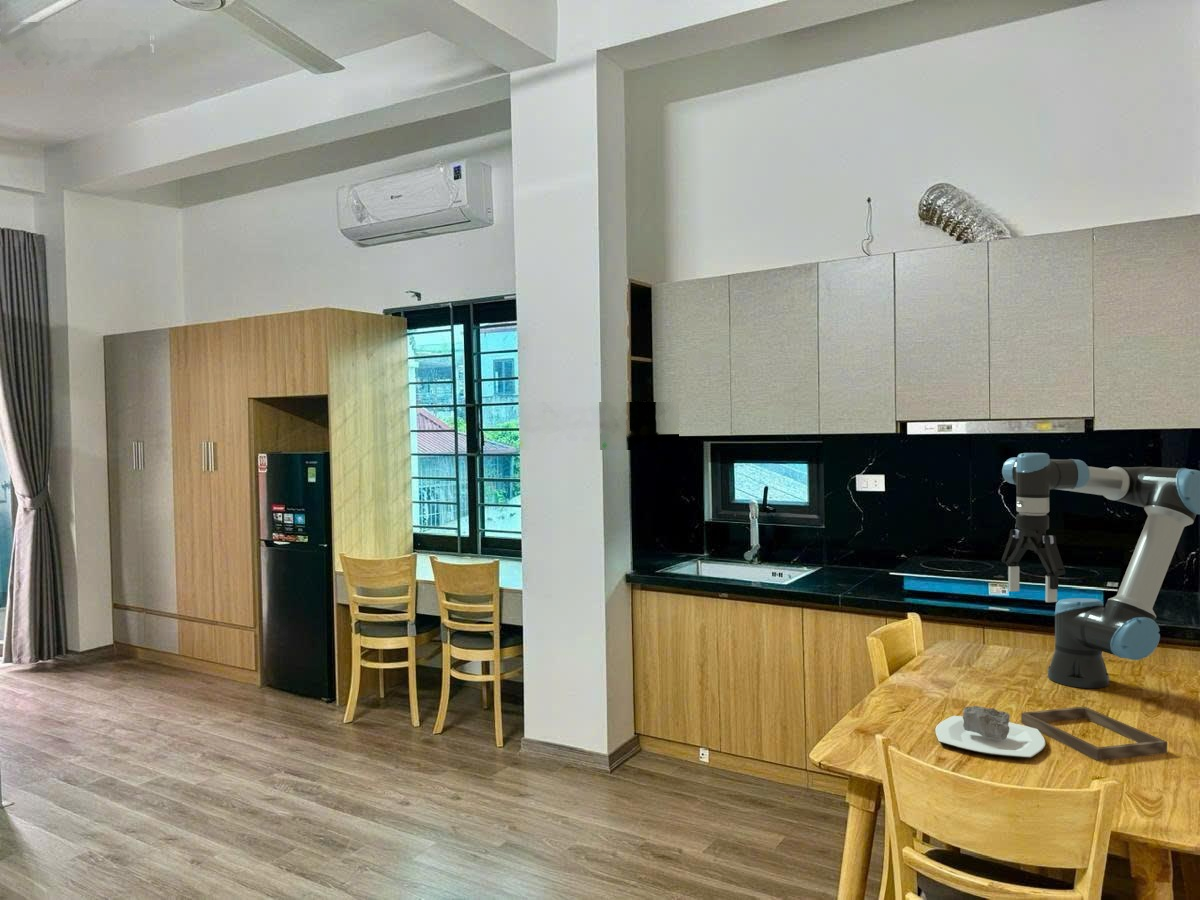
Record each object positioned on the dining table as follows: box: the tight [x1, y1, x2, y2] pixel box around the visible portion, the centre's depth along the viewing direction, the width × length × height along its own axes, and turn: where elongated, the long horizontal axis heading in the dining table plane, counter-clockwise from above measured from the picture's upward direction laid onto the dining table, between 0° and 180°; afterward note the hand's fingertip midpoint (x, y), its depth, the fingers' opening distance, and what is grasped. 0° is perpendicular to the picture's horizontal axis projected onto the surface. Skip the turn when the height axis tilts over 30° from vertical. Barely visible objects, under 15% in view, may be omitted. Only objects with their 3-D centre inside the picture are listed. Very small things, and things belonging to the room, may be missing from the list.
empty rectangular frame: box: [1020, 706, 1168, 762], centre depth 201 cm, size 18×24×2 cm
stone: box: [962, 705, 1011, 740], centre depth 200 cm, size 8×10×6 cm
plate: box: [934, 715, 1046, 759], centre depth 199 cm, size 23×23×2 cm
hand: (1031, 596), depth 220 cm, fingers open, 13 cm apart
